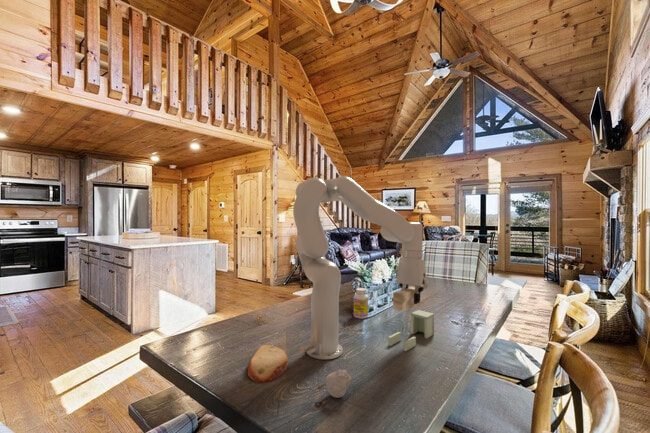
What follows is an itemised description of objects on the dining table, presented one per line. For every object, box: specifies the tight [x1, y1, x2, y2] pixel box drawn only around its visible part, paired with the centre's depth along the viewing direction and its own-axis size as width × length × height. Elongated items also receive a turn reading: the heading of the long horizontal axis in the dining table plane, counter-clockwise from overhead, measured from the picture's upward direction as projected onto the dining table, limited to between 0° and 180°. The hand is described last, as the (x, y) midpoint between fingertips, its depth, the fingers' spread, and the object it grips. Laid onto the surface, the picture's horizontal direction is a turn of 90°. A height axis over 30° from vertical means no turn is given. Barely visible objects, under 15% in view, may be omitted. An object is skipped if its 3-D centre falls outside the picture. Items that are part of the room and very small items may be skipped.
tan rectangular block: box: [392, 285, 421, 312], centre depth 116 cm, size 14×4×6 cm, turn 136°
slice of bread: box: [247, 344, 289, 384], centre depth 98 cm, size 18×18×4 cm
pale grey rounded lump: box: [325, 369, 352, 399], centre depth 81 cm, size 6×7×7 cm
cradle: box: [387, 331, 417, 352], centre depth 113 cm, size 7×7×3 cm
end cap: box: [410, 309, 435, 339], centre depth 124 cm, size 6×7×8 cm
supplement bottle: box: [353, 287, 369, 320], centre depth 144 cm, size 7×7×13 cm
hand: (411, 301), depth 119 cm, fingers closed on tan rectangular block, 3 cm apart
